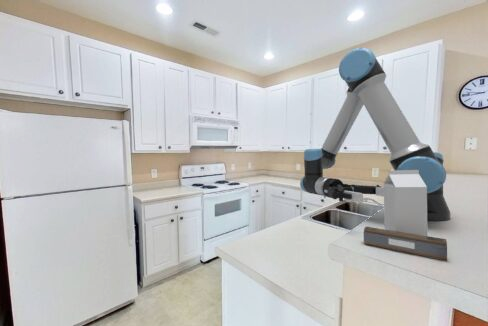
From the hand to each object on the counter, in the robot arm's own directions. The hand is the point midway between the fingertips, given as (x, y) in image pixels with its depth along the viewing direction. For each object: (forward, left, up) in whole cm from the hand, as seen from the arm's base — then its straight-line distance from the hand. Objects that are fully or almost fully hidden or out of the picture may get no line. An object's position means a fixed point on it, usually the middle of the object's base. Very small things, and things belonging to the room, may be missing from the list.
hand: (379, 196), depth 65 cm
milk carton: (-1, +7, -11) cm, 13 cm away
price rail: (+6, +11, -11) cm, 17 cm away
